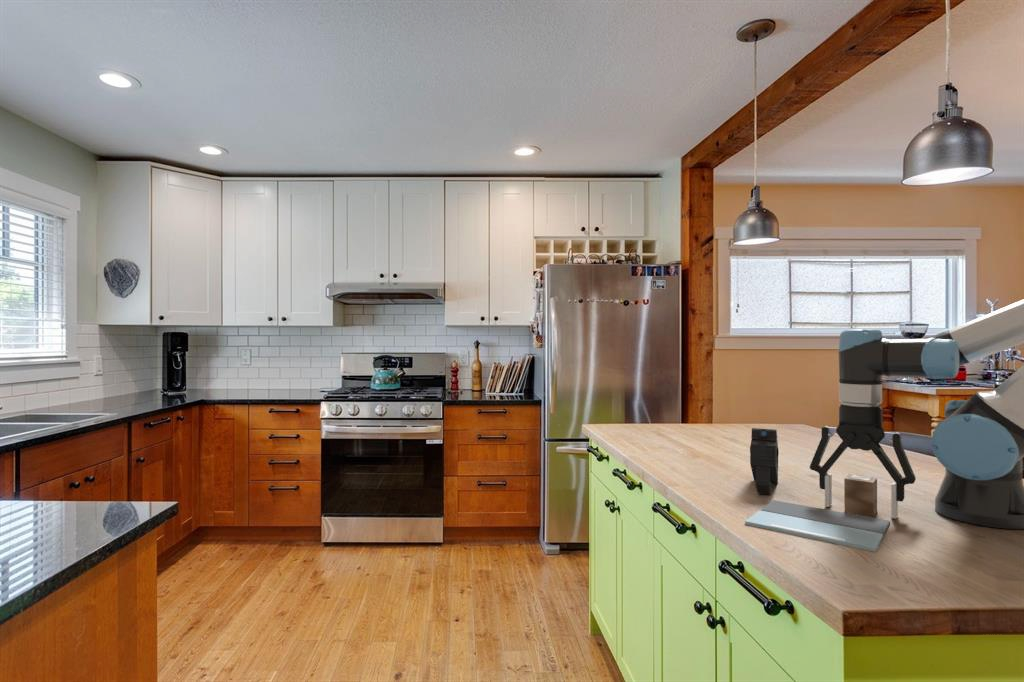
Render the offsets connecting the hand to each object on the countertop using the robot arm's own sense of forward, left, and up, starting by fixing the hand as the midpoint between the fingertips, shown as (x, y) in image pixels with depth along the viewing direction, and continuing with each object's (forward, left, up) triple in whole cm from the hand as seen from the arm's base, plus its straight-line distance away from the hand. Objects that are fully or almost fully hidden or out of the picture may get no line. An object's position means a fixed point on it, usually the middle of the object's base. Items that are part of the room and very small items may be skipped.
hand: (860, 510), depth 112 cm
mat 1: (+5, +10, 0) cm, 11 cm away
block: (0, 0, 0) cm, 0 cm away
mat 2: (+5, +19, 0) cm, 20 cm away
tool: (+21, -8, 0) cm, 22 cm away
